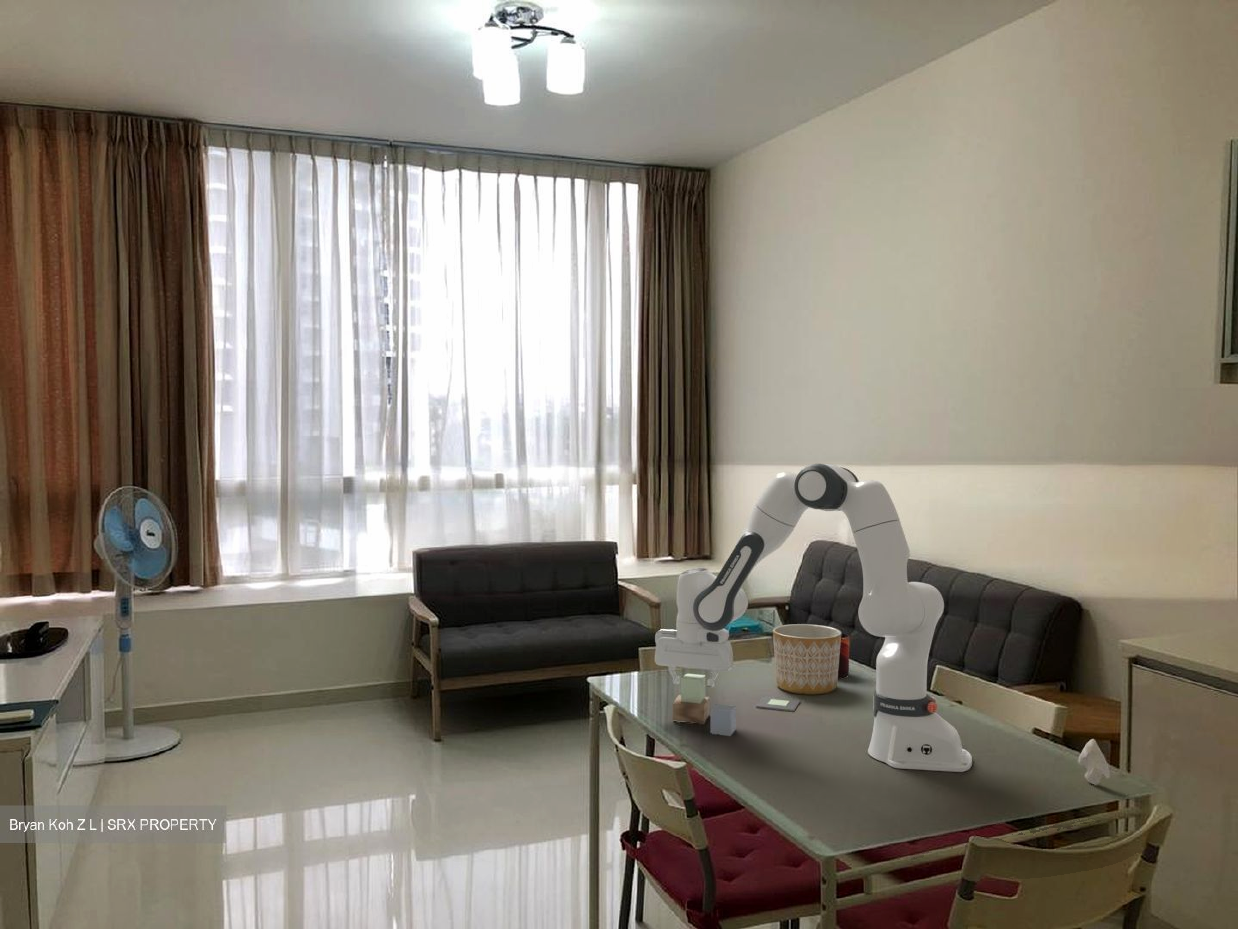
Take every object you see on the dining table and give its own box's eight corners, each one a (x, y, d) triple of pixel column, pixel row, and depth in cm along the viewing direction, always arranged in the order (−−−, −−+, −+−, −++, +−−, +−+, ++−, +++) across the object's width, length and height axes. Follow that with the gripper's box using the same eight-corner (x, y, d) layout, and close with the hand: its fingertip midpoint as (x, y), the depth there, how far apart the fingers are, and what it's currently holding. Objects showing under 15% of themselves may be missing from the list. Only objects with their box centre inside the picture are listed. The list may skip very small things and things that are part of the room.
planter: (767, 679, 286) (768, 624, 285) (832, 679, 286) (833, 624, 285) (778, 697, 267) (778, 638, 266) (847, 697, 266) (848, 638, 266)
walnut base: (709, 716, 249) (709, 697, 249) (703, 725, 242) (704, 705, 241) (678, 713, 251) (678, 694, 251) (672, 722, 244) (672, 703, 243)
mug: (837, 667, 301) (837, 629, 300) (853, 678, 287) (854, 638, 287) (807, 668, 299) (807, 629, 299) (822, 679, 286) (823, 639, 285)
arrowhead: (1073, 779, 204) (1074, 733, 203) (1082, 778, 205) (1083, 731, 204) (1104, 793, 196) (1105, 744, 196) (1114, 791, 197) (1115, 743, 197)
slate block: (735, 730, 237) (735, 706, 237) (730, 736, 232) (730, 711, 232) (715, 728, 239) (716, 704, 239) (710, 734, 234) (710, 709, 234)
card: (800, 701, 262) (800, 699, 262) (793, 711, 252) (793, 709, 252) (764, 698, 265) (764, 695, 265) (756, 707, 256) (756, 705, 256)
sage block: (705, 698, 248) (705, 675, 248) (699, 703, 243) (699, 680, 243) (686, 696, 250) (686, 673, 249) (680, 701, 245) (680, 678, 245)
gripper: (651, 630, 247) (651, 684, 247) (728, 637, 239) (728, 692, 240) (659, 626, 253) (658, 678, 253) (735, 632, 245) (734, 685, 246)
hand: (693, 685), depth 246 cm, fingers open, 8 cm apart
